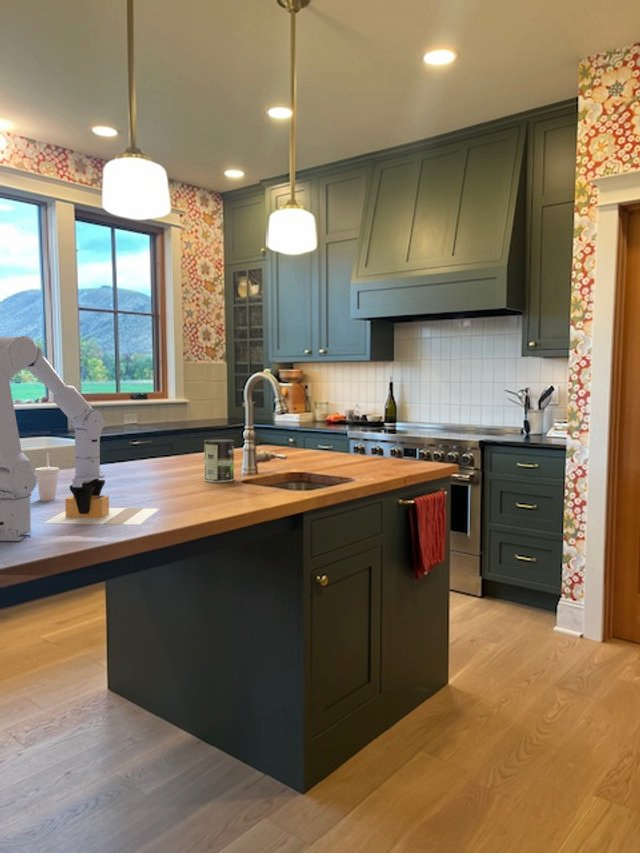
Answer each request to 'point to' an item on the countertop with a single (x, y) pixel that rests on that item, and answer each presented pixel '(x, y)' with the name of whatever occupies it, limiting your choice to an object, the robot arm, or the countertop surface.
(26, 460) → the robot arm
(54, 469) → the smoothie
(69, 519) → the drywall panel
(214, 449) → the coffee can
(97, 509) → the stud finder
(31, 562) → the countertop surface
